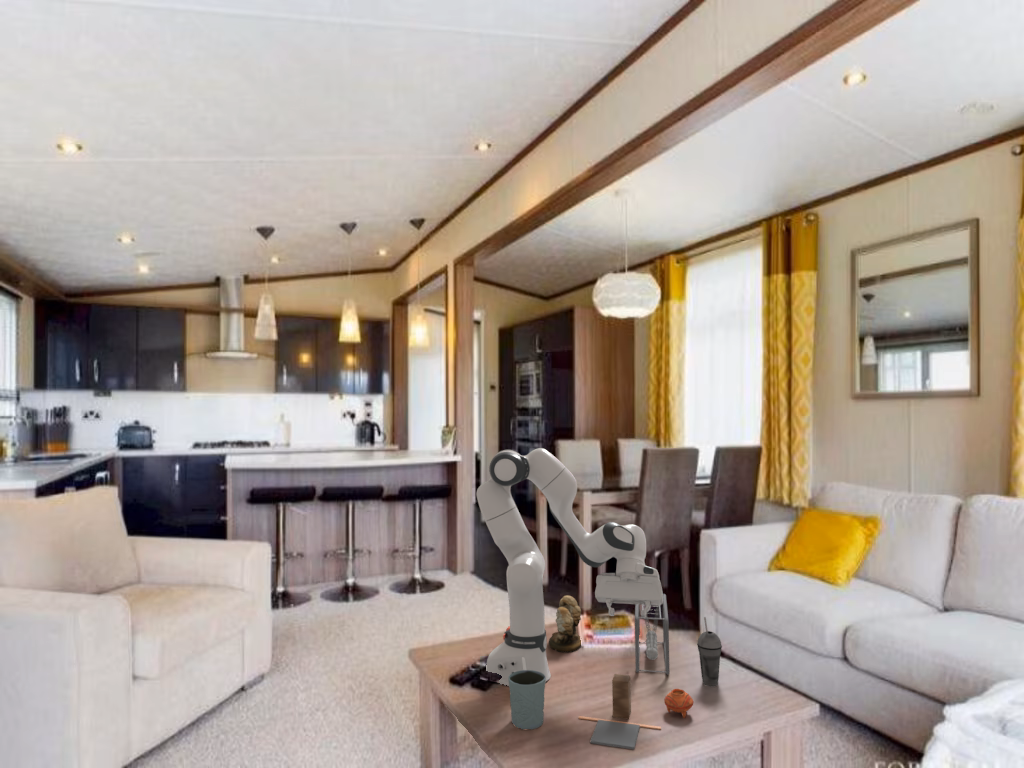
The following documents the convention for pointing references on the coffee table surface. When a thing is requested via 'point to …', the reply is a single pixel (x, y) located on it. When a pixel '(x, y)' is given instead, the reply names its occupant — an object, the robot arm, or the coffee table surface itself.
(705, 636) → the beverage cup
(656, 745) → the coffee table surface
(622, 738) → the mat
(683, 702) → the pot
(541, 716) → the teal tumbler
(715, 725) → the coffee table surface
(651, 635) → the newton's cradle
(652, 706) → the coffee table surface
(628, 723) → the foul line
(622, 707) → the wooden square post
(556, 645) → the brown lumpy statue
